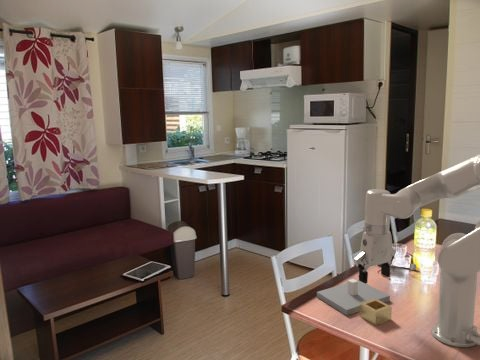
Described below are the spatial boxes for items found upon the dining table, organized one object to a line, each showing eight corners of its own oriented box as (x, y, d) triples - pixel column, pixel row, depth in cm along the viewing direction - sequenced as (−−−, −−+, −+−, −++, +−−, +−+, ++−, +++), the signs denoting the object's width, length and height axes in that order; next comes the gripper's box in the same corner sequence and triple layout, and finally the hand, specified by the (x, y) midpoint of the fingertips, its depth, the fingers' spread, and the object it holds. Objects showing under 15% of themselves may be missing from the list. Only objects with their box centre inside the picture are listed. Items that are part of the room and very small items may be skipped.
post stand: (389, 300, 148) (390, 282, 147) (346, 315, 139) (346, 296, 138) (357, 284, 162) (358, 267, 161) (316, 297, 153) (316, 279, 152)
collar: (391, 319, 135) (391, 306, 134) (375, 325, 132) (375, 312, 131) (375, 310, 141) (375, 298, 141) (359, 316, 138) (359, 303, 138)
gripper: (364, 236, 124) (362, 289, 128) (405, 227, 132) (402, 277, 135) (347, 229, 131) (345, 280, 134) (387, 221, 139) (384, 269, 142)
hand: (374, 278), depth 135 cm, fingers open, 9 cm apart
